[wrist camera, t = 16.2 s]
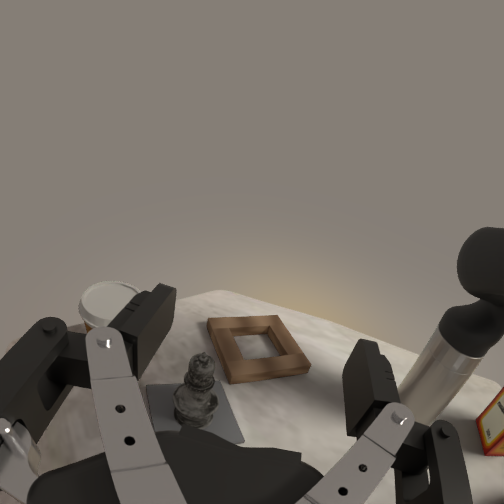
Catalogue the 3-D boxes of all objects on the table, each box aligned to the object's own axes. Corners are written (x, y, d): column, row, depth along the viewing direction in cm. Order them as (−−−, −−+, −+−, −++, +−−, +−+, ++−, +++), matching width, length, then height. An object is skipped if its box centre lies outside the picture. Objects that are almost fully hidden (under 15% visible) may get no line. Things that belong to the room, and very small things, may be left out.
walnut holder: (274, 322, 61) (277, 315, 60) (307, 372, 50) (311, 364, 49) (206, 326, 55) (208, 317, 55) (229, 384, 44) (232, 375, 43)
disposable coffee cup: (158, 371, 43) (163, 308, 38) (105, 395, 36) (97, 331, 31) (125, 334, 48) (126, 273, 43) (76, 352, 40) (67, 288, 36)
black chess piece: (164, 403, 37) (168, 339, 32) (202, 393, 40) (215, 330, 36) (183, 437, 33) (191, 378, 28) (223, 424, 36) (241, 364, 31)
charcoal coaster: (219, 382, 44) (219, 380, 43) (243, 442, 35) (244, 440, 34) (146, 387, 39) (146, 385, 39) (159, 453, 30) (159, 451, 30)
